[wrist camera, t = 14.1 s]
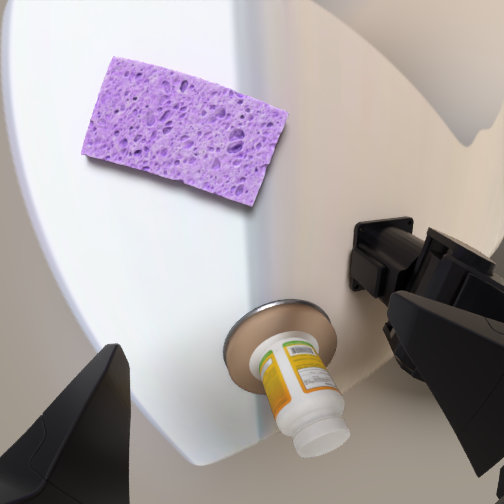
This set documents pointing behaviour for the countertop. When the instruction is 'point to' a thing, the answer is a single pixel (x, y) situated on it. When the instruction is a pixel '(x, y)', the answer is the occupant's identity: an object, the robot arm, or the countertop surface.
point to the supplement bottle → (303, 397)
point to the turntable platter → (276, 339)
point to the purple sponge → (183, 129)
